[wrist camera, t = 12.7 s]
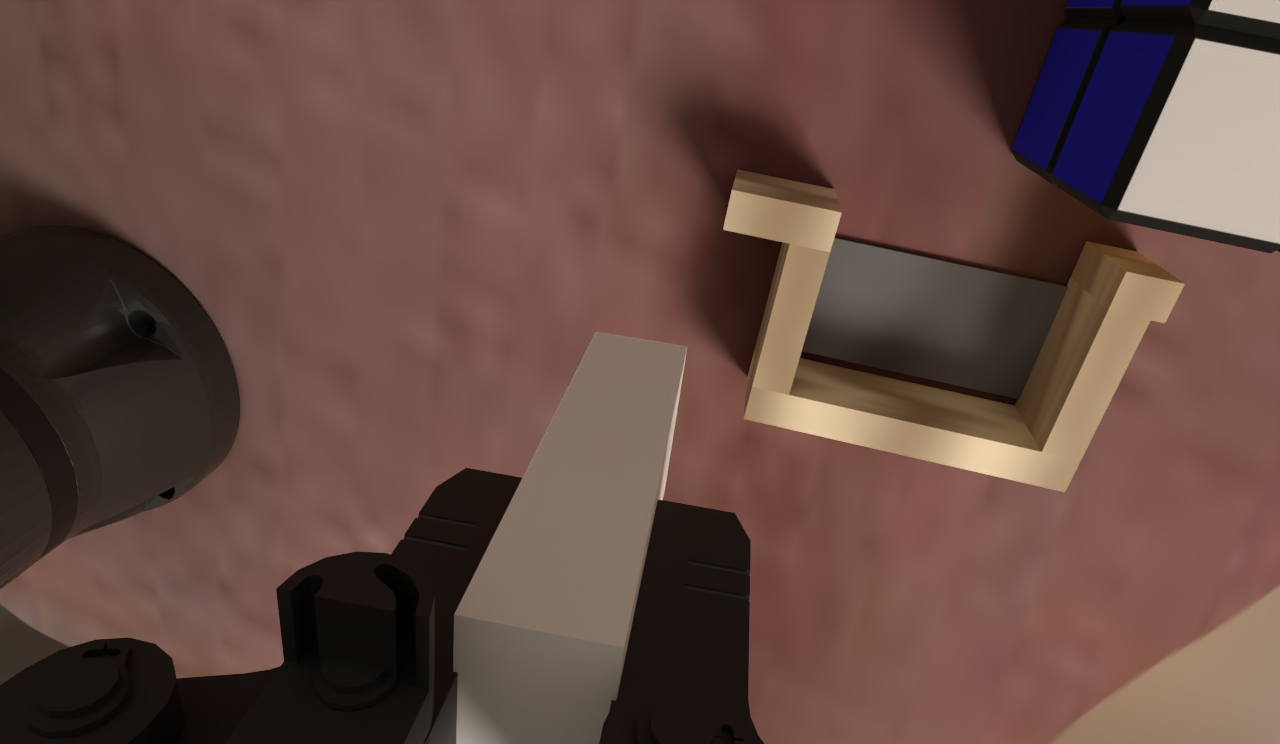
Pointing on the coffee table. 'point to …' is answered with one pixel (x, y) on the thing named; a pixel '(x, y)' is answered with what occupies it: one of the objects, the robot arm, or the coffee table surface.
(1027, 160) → the puzzle cube
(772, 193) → the u-shaped frame
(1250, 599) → the coffee table surface
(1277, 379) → the coffee table surface
